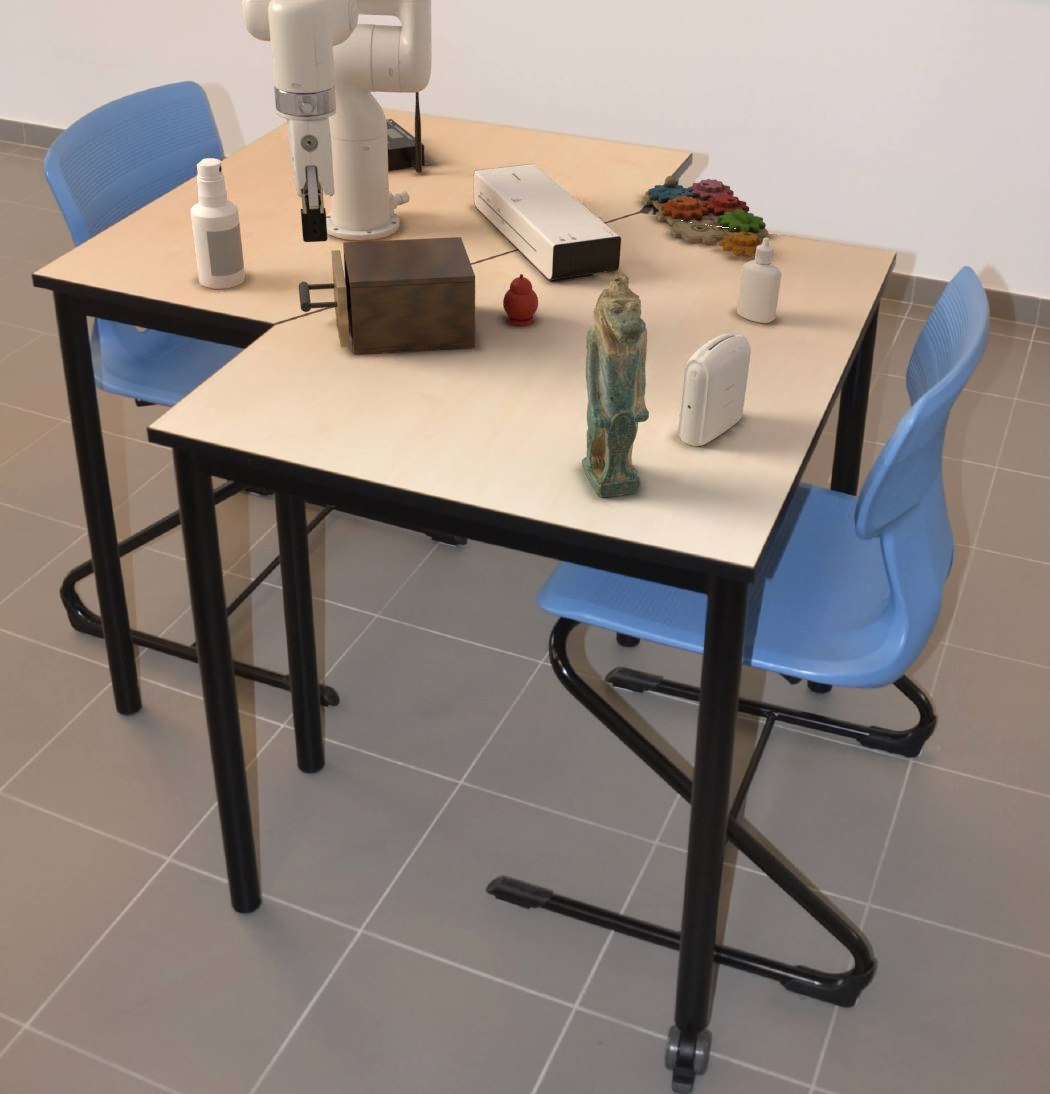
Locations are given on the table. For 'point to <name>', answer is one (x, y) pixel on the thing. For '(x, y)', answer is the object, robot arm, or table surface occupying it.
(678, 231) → the gear puzzle
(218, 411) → the table surface
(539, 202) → the laminator
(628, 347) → the statue
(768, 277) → the eye dropper bottle
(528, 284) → the pear
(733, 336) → the photo printer
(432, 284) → the cabinet
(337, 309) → the drawer
